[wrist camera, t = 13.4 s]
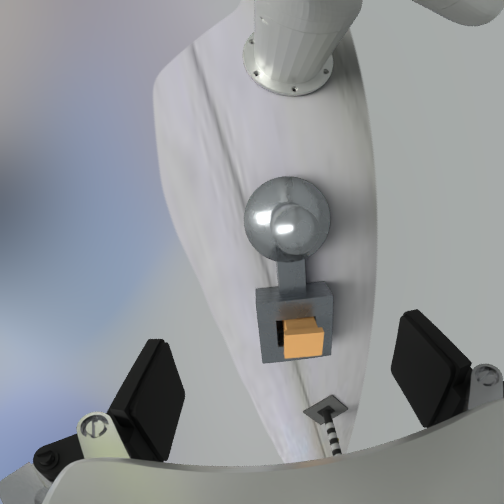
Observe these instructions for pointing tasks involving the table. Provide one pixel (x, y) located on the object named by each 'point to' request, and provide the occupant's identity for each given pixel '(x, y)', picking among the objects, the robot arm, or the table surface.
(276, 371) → the table surface
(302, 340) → the tan flared block
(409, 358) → the robot arm
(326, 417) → the miniature traffic light
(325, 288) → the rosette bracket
